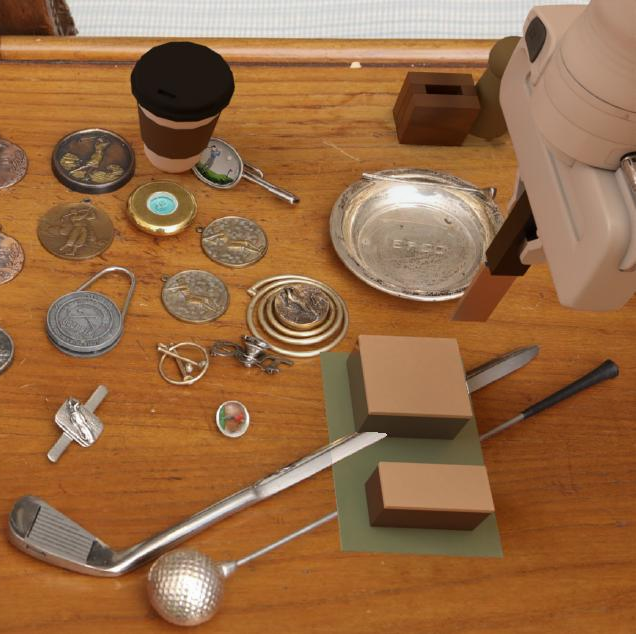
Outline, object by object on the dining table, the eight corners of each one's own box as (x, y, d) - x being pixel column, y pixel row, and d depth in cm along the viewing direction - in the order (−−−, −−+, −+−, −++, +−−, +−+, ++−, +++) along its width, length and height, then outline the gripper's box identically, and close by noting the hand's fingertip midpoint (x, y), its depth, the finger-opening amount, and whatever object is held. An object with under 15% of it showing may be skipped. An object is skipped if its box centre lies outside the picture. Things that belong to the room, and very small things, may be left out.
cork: (511, 141, 106) (552, 68, 97) (457, 134, 107) (494, 61, 97) (506, 104, 109) (546, 30, 100) (454, 98, 110) (489, 24, 101)
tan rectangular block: (464, 488, 82) (485, 465, 78) (473, 531, 80) (495, 510, 76) (364, 483, 82) (379, 461, 78) (369, 526, 80) (386, 506, 76)
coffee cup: (192, 204, 101) (206, 126, 90) (107, 164, 104) (111, 84, 93) (237, 142, 106) (254, 61, 95) (154, 105, 109) (163, 23, 98)
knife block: (453, 111, 109) (471, 73, 104) (461, 146, 106) (481, 108, 101) (392, 109, 109) (407, 71, 104) (399, 144, 106) (415, 106, 101)
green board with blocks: (460, 361, 90) (482, 330, 85) (501, 561, 80) (529, 538, 75) (317, 355, 90) (331, 324, 86) (339, 554, 80) (356, 531, 75)
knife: (482, 308, 78) (566, 186, 64) (487, 330, 77) (574, 210, 63) (447, 307, 78) (523, 185, 64) (451, 329, 77) (530, 210, 63)
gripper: (725, 235, 50) (605, 360, 62) (619, -8, 61) (534, 137, 73) (609, 232, 51) (511, 358, 62) (524, -10, 61) (455, 135, 73)
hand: (523, 236), depth 68 cm, fingers closed on knife, 2 cm apart
